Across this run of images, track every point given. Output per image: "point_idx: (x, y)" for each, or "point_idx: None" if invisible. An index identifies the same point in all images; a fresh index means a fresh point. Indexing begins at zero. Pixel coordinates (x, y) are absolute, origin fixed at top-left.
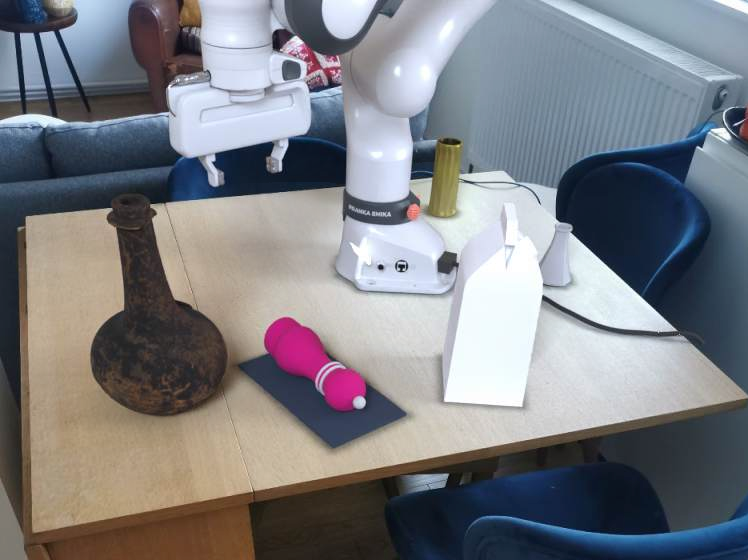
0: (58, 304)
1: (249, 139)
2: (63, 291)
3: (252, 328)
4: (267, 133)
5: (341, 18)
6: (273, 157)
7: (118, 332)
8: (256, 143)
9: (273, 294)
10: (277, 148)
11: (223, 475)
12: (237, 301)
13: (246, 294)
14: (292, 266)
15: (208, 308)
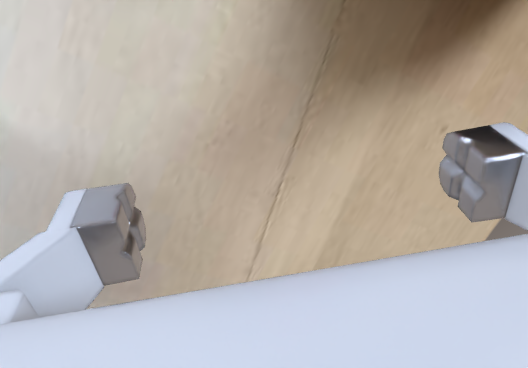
0: (464, 218)
1: (384, 298)
2: (438, 246)
3: (238, 18)
4: (144, 362)
5: None
6: (93, 267)
7: None
8: (284, 276)
9: (145, 125)
10: (46, 306)
11: None
12: (222, 128)
13: (195, 145)
14: None
15: (281, 126)
